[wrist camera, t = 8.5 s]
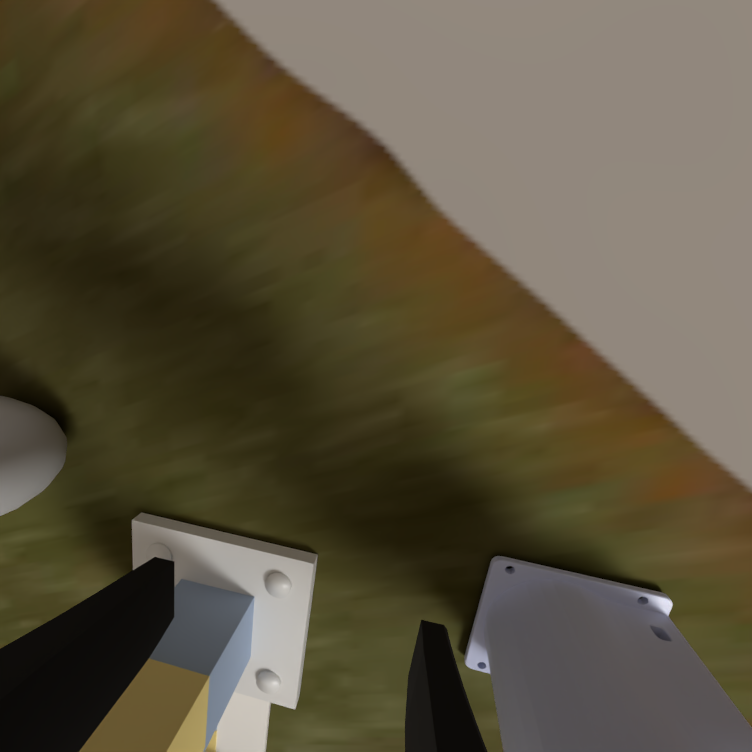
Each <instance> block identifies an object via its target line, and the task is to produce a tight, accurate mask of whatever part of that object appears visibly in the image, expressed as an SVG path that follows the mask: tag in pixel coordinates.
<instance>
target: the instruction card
mask: <svg viewBox="0 0 752 752" xmlns="http://www.w3.org/2000/svg"><path fill="white" fill-rule="evenodd" d="M270 706H271V702H267V701H264V700H260V699H257V698H253V697H250V696H246V695H243V694H239V693H236V692H233V695H232V697H231V699H230V701H229V703H228V705H227V707H226V709H225V711H224V713H223V715H222V717H221V719H220V721H219V723H218V725H217V727H216V729H215V732H214V734H213V736H212V738H211V740H210V742H209V744H208V746H207V748H206V750H205V751H203V752H266V744H267V734H268V725H269V715H270Z"/></svg>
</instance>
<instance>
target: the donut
mask: <svg viewBox="0 0 752 752" xmlns="http://www.w3.org/2000/svg"><path fill="white" fill-rule="evenodd" d="M66 451H67V438H66V436H65V434H64V433H63V431H62V430H61V428H60V426H59V425H58V423H57V422H56V420H55V419H54V418H52V417H51V416H49V415H48V414H46V413H45V412H43V411H41V410H40V409H38V408H37V407H35V406H33V405H31V404H28V403H25V402H22V401H19V400H16V399H13V398H10V397H4V396H0V516H1V515H3V514H6V513H8V512H10V511H13V510H15V509H17V508H19V507H20V506H21V505H23V504H24V503H26V502H27V501H29V500H30V499H32V498H33V497H35V496H36V495H38V494H39V493H41V492H42V491H43V490H44V489H45V488H46V487H47V486H48V485H49V484H50V483H51V482H52V480H53V479H54V478H55V477H56V475H57V474H58V473H59V471H60V470H61V469H62V467H63V465H64V463H65V459H66Z"/></svg>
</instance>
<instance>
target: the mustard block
mask: <svg viewBox="0 0 752 752" xmlns="http://www.w3.org/2000/svg"><path fill="white" fill-rule="evenodd" d="M209 677H210V676H207V675H204V674H200V673H197V672H194V671H190V670H187V669H183V668H180V667H177V666H173V665H170V664H166V663H163V662H160V661H156V660H153V659H148V660H147V662H146V663H145V664H144V666H143V667H142V669H141V670H140V671H139V673H138V674H137V675H136V677H135V678H134V679H133V681H132V682H131V683H130V685H129V686H128V687H127V689H126V690H125V691H124V693H123V694H122V695H121V697H120V698H119V699H118V701H117V702H116V703H115V705H114V706H113V707H112V709H111V710H110V711H109V713H108V714H107V715H106V717H105V718H104V719H103V720H102V722H101V723H100V724H99V726H98V727H97V728H96V730H95V731H94V732H93V734H92V735H91V736H90V738H89V739H88V740H87V742H86V743H85V744H84V746H83V747H82V748H81V750H80V751H79V752H203V750H204V748H205V743H206V726H207V710H208V694H209Z"/></svg>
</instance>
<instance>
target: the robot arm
mask: <svg viewBox="0 0 752 752" xmlns="http://www.w3.org/2000/svg"><path fill="white" fill-rule="evenodd" d="M508 566H512V568H510V569H507V568H506V567H508ZM640 597H642V598H640ZM639 598H640V599H639ZM672 605H673V603H672V601H671V600H670V598H669V597H668V596H667V595H666V594H665V593H662V592H658V591H653V590H649V589H645V588H640V587H636V586H631V585H627V584H623V583H618V582H614V581H609V580H605V579H601V578H596V577H592V576H587V575H583V574H579V573H574V572H570V571H565V570H561V569H556V568H552V567H548V566H543V565H539V564H534V563H530V562H526V561H521V560H517V559H512V558H508V557H504V556H496V557H494V558H492V560H491V562H490V566H489V569H488V573H487V577H486V580H485V584H484V587H483V591H482V595H481V598H480V602H479V605H478V609H477V613H476V616H475V620H474V624H473V627H472V631H471V634H470V638H469V642H468V645H467V649H466V652H465V664H466V666H468V667H469V668H471V669H474V670H478V671H482V672H485V673H489V674H491V680H492V686H493V692H494V698H495V704H496V710H497V716H498V722H499V728H500V734H501V740H502V746H503V752H752V727H751V726H750V725H749V723H748V722H747V721H746V719H745V718H744V717H743V715H742V714H741V713H740V711H739V710H738V709H737V707H736V706H735V705H734V703H733V702H732V701H731V699H730V698H729V697H728V695H727V694H726V693H725V691H724V690H723V689H722V687H721V686H720V685H719V683H718V682H717V681H716V679H715V678H714V677H713V675H712V674H711V673H710V671H709V670H708V669H707V667H706V666H705V665H704V663H703V662H702V661H701V659H700V658H699V657H698V655H697V654H696V653H695V651H694V650H693V649H692V647H691V646H690V645H689V643H688V642H687V641H686V639H685V638H684V637H683V635H682V634H681V633H680V631H679V630H678V629H677V627H676V626H675V625H674V623H673V622H672V621H671V619H670V618H669V617H668V615H669V613H670V611H671V608H672ZM173 618H174V561H170V560H166V559H162V558H158V557H154V558H152V559H151V560H149V561H147V562H146V563H144V564H142V565H141V566H139V567H137V568H136V569H134V570H133V571H131V572H129V573H128V574H126V575H125V576H123V577H121V578H120V579H118V580H117V581H115V582H113V583H112V584H110V585H109V586H107V587H105V588H104V589H102V590H100V591H99V592H97V593H96V594H94V595H92V596H91V597H89V598H87V599H86V600H84V601H82V602H81V603H79V604H77V605H76V606H74V607H72V608H71V609H69V610H67V611H66V612H64V613H62V614H61V615H59V616H57V617H56V618H54V619H52V620H50V621H49V622H47V623H45V624H43V625H42V626H40V627H38V628H36V629H34V630H33V631H31V632H29V633H27V634H26V635H24V636H22V637H20V638H19V639H17V640H15V641H13V642H12V643H10V644H8V645H6V646H5V647H3V648H1V649H0V752H79V751H80V750H81V748H82V747H83V746H84V744H85V743H86V742H87V740H88V739H89V738H90V736H91V735H92V734H93V732H94V731H95V730H96V728H97V727H98V726H99V724H100V723H101V722H102V720H103V719H104V718H105V717H106V715H107V714H108V713H109V711H110V710H111V709H112V707H113V706H114V705H115V703H116V702H117V701H118V699H119V698H120V697H121V695H122V694H123V693H124V691H125V690H126V689H127V687H128V686H129V685H130V683H131V682H132V681H133V679H134V678H135V677H136V675H137V674H138V673H139V671H140V670H141V669H142V667H143V666H144V664H145V663H146V662H147V660H148V659H149V658H150V656H151V654H152V653H153V651H154V650H155V648H156V646H157V645H158V643H159V642H160V640H161V638H162V637H163V635H164V633H165V632H166V630H167V628H168V627H169V625H170V623H171V622H172V620H173ZM405 752H487V750H486V747H485V744H484V742H483V739H482V737H481V734H480V731H479V729H478V726H477V723H476V720H475V718H474V715H473V712H472V709H471V707H470V704H469V701H468V698H467V695H466V692H465V690H464V687H463V683H462V680H461V677H460V674H459V671H458V668H457V665H456V661H455V658H454V655H453V651H452V647H451V644H450V640H449V636H448V632H447V629H446V628H445V626H444V625H441V624H437V623H433V622H428V621H424V620H421V624H420V628H419V632H418V637H417V641H416V645H415V650H414V654H413V658H412V662H411V667H410V671H409V675H408V688H407V703H406V719H405Z"/></svg>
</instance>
